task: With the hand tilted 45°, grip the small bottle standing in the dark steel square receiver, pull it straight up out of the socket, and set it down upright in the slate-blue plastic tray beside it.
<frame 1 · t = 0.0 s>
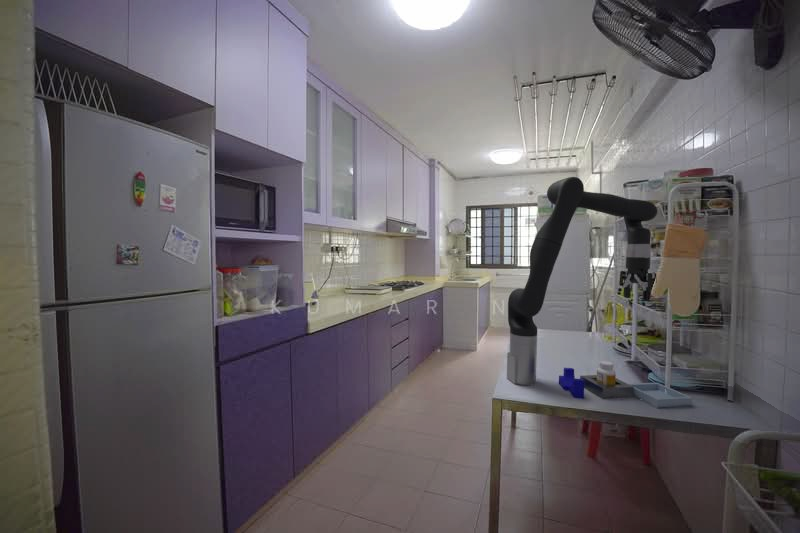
hand: (636, 299, 127), 29 cm above the table, tool pointing down, fingers open, 8 cm apart
supplement bottle: (605, 391, 113), resting in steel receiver
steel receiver: (605, 391, 113), on the table
blue stepped block: (570, 391, 114), on the table
tray: (656, 398, 108), on the table
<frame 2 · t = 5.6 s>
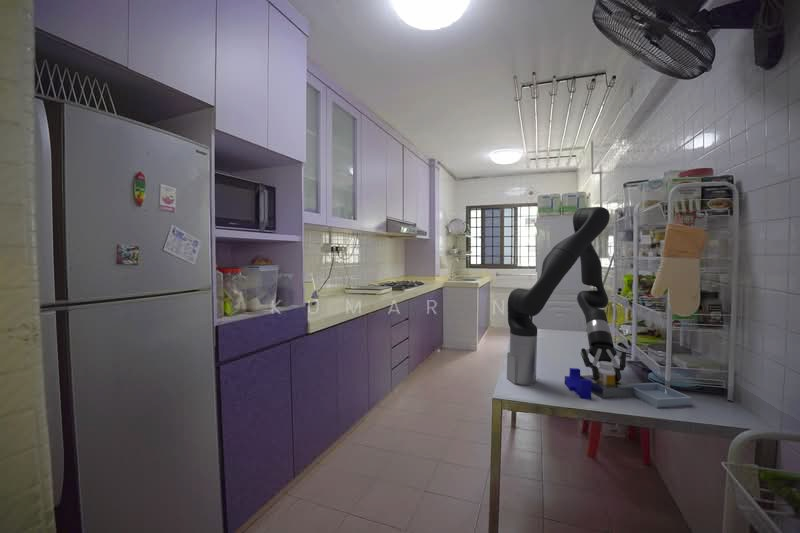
hand: (607, 379, 112), 5 cm above the table, tool tilted 45°, fingers closed on supplement bottle, 5 cm apart
supplement bottle: (605, 391, 113), resting in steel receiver, touching gripper
blue stepped block: (577, 392, 114), on the table
when the fingers open (7 cm above the table, at t = 11.1 s): supplement bottle drops 1 cm, resting on tray.
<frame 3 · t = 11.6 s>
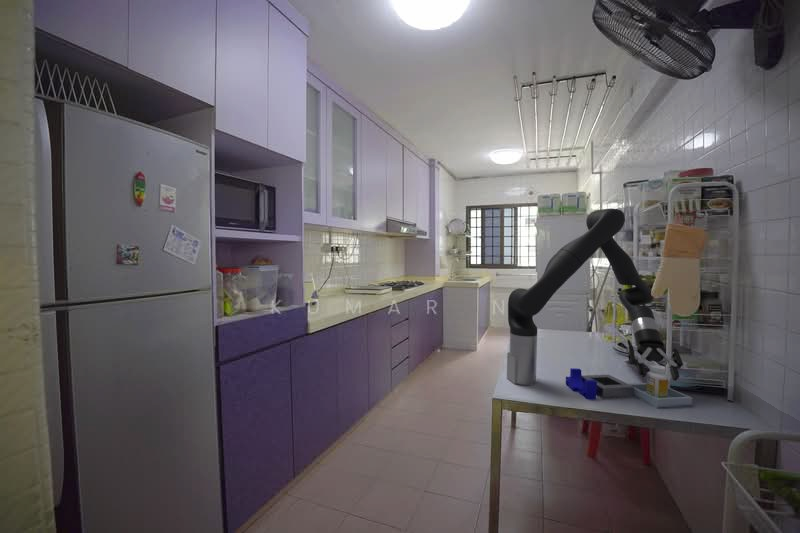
hand: (659, 377, 107), 7 cm above the table, tool tilted 45°, fingers open, 8 cm apart
supplement bottle: (656, 396, 108), resting on tray
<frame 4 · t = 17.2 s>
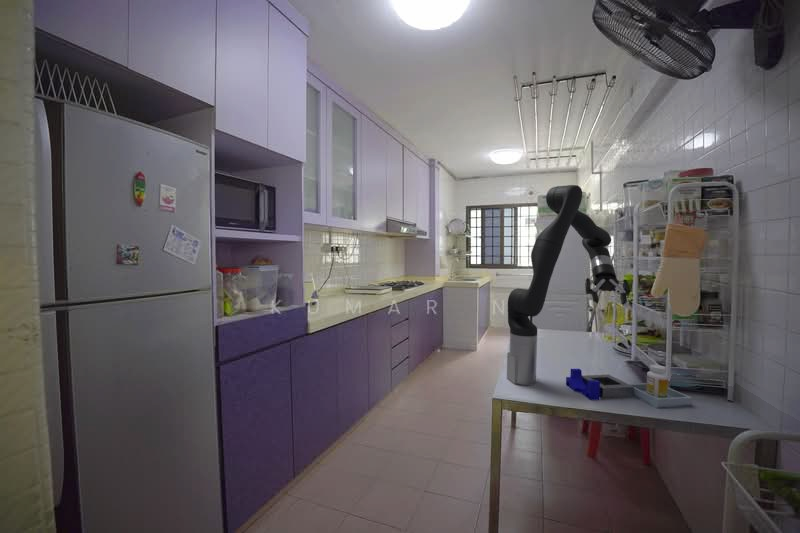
hand: (610, 302, 122), 29 cm above the table, tool tilted 45°, fingers open, 8 cm apart
at the end: supplement bottle inside the target area on the tray (0.2 cm from its centre), point 0.4 cm above the tray's base; supplement bottle tilted 0°; the gripper is holding nothing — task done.
